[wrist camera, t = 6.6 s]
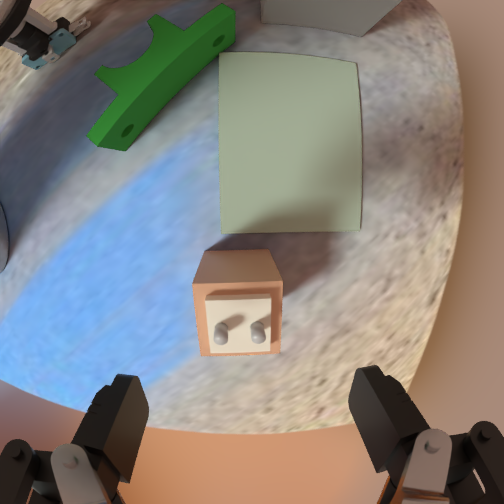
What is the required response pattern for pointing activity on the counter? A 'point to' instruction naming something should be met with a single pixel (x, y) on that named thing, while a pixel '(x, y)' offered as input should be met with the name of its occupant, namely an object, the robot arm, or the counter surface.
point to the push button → (35, 33)
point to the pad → (288, 143)
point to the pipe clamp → (159, 74)
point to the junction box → (327, 13)
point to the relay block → (238, 303)
